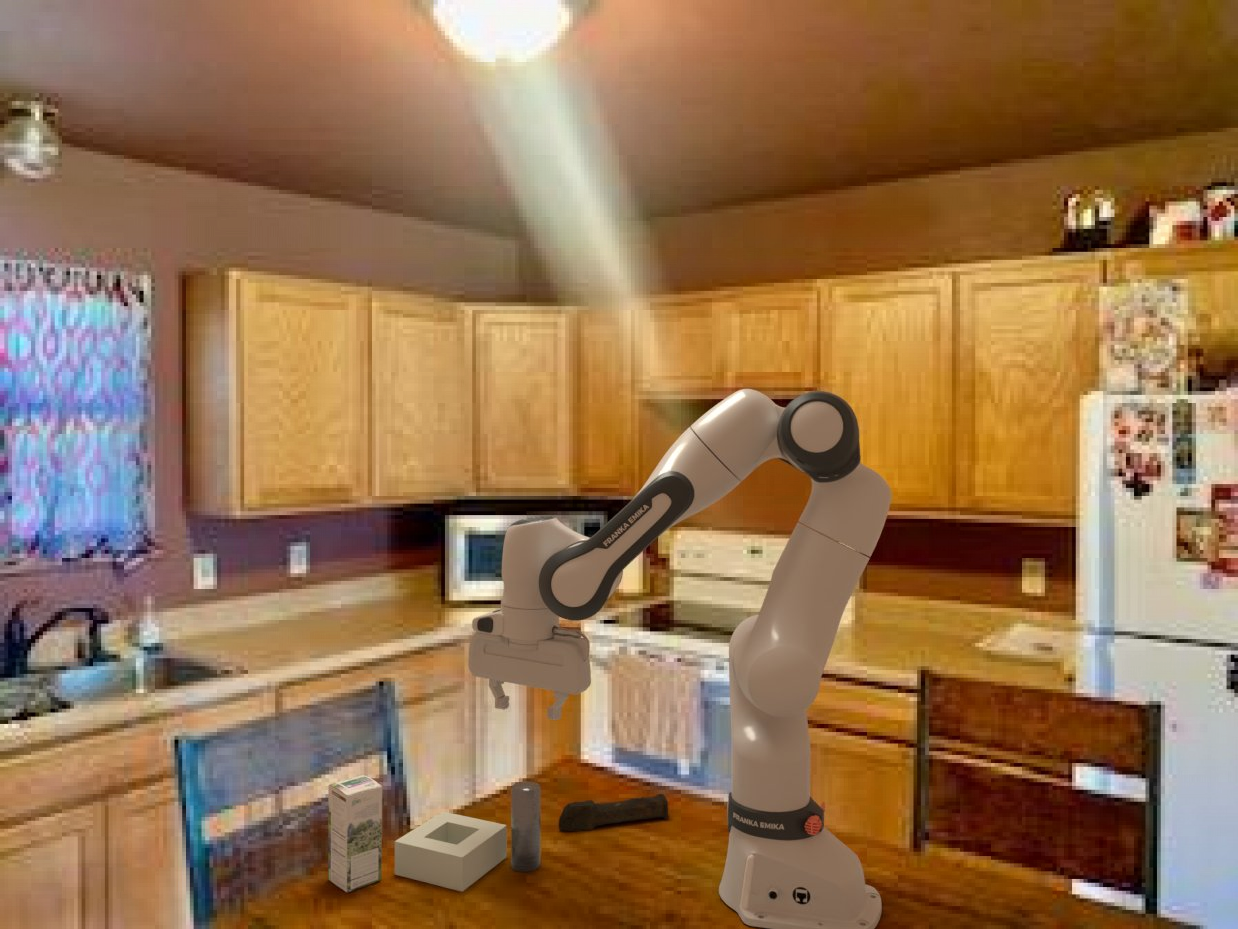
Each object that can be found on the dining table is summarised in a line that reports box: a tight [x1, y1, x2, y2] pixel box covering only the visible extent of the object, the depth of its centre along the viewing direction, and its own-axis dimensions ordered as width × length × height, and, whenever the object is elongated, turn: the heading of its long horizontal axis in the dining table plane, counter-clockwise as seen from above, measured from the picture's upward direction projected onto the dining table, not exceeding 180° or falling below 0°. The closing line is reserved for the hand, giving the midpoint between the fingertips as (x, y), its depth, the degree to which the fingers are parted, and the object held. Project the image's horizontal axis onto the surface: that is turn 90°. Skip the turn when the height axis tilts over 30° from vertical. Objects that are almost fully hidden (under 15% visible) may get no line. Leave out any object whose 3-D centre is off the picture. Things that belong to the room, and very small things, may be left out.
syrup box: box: [327, 774, 383, 894], centre depth 135 cm, size 6×6×14 cm
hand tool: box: [558, 793, 669, 832], centre depth 156 cm, size 19×4×5 cm, turn 107°
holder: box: [394, 811, 508, 893], centre depth 140 cm, size 12×12×5 cm
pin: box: [510, 781, 541, 873], centre depth 140 cm, size 4×4×12 cm
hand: (527, 713), depth 140 cm, fingers open, 8 cm apart
